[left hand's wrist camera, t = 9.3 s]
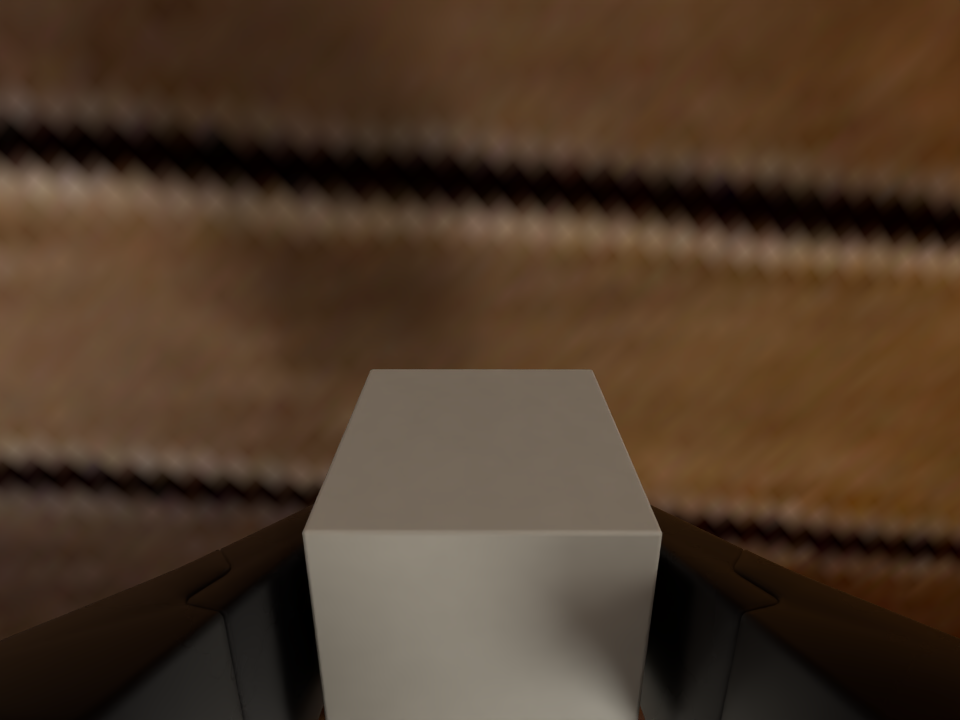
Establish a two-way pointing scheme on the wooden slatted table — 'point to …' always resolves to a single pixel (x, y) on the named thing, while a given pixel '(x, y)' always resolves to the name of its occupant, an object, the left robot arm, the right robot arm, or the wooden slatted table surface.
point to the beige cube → (481, 552)
